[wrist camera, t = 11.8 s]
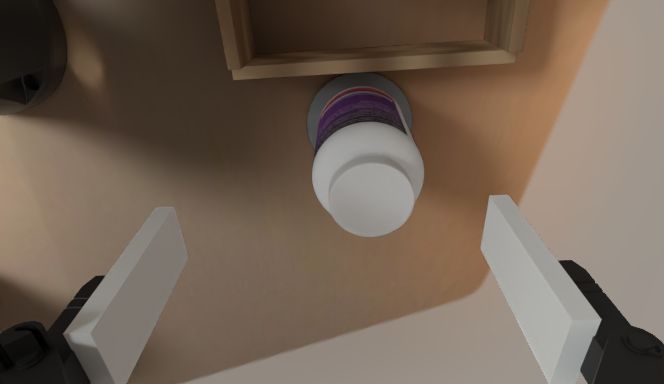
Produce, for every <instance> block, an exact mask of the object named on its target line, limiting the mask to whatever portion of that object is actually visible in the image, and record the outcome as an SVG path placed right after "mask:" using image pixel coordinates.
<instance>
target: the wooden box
mask: <svg viewBox="0 0 664 384" xmlns="http://www.w3.org/2000/svg"><path fill="white" fill-rule="evenodd" d="M215 4H216V10H217V15H218V20H219V26H220V31H221V36H222V42H223V47H224V52H225V58H226V63H227V69H228V70H232V75H233V80H243V79H260V78H276V77H293V76H309V75H325V74H342V73H358V72H375V71H391V70H407V69H424V68H440V67H457V66H473V65H489V64H506V63H515V61H516V55H517V52H522V51H523V45H524V38H525V32H526V25H527V19H528V13H529V6H530V0H488V6H487V15H486V24H485V33H484V40H476V41H461V42H445V43H430V44H414V45H399V46H383V47H367V48H352V49H336V50H321V51H305V52H290V53H274V54H259V55H256V52H255V46H254V39H253V33H252V26H251V19H250V13H249V6H248V0H215Z"/></svg>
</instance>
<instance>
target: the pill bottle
mask: <svg viewBox="0 0 664 384" xmlns="http://www.w3.org/2000/svg"><path fill="white" fill-rule="evenodd" d="M312 181H313V187H314V191H315V193H316V196H317V198H318V200H319V201H320V203H321V204H322V206H323V207H324V208H325V209H326V210H327V211H328V212H329V213H330V214H332V216H333V218H334V220H335V221H336V222H337V223H338V224H339V225H340V226H341V227H342V228H343V229H345V230H346V231H348V232H350V233H352V234H355V235H358V236H364V237H377V236H382V235H386V234H389V233H391V232H393V231H395V230H396V229H398V228H399V227H400V226H402V225H403V224H404V223H405V222H406V220H407V219H408V218H409V216H410V215H411V212H412V210H413V207H414V202H415V201H416V199H417V198H418V196H419V194H420V192H421V189H422V185H423V181H424V165H423V160H422V157H421V154H420V152H419V150H418V147H417V145H416V143H415V141H414V139H413V136H412V134H411V132H410V129H409V127H408V125H407V122H406V120H405V118H404V115H403V113H402V111H401V109H400V107H399V105H398V104H397V102H396V101H395V100H394V99H393V98H392V97H391V96H390V95H388V94H387V93H385V92H384V91H382V90H379V89H377V88H373V87H368V86H357V87H352V88H348V89H345V90H343V91H341V92H339V93H338V94H336V95H335V96H334V97H333V98H332V99H331V100H330V101H329V102H328V103H327V104H326V106H325V107H324V109H323V111H322V113H321V115H320V119H319V123H318V130H317V139H316V146H315V154H314V161H313V170H312Z"/></svg>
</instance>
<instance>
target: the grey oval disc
mask: <svg viewBox="0 0 664 384" xmlns="http://www.w3.org/2000/svg"><path fill="white" fill-rule="evenodd" d="M357 86H368V87H373V88H377V89H379V90H382V91H384V92H385V93H387V94H388V95H390V96H391V97H392V98H393V99H394V100H395V101H396V102H397V104H398V105H399V107H400V109H401V111H402V113H403V115H404V118H405V120H406V122H407V125H408V127H409V129H410V132H411V131H412V113H411V109H410V106H409V103H408V101H407V99H406V97H405V95H404V94H403V92H402V91H401V90H400V88H399V87H398V86H397V85H396V84H394V83H393V82H392V81H391V80H389V79H387V78H386V77H384V76H381V75H379V74H376V73H372V72H358V73H345V74H342V75H340V76H337V77H335V78H334V79H332V80H330V81H329V82H328V83H326V84H325V85H324V86H323V87H322V88H321V89H320V90H319V91H318V93H317V94H316V96H315V97H314V99H313V101H312V103H311V106H310V109H309V113H308V118H307V130H308V136H309V139H310V142H311V144H312V146H313V148H314V150H315V146H316V139H317V130H318V123H319V119H320V115H321V113H322V111H323V109H324V107H325V106H326V104H327V103H328V102H329V101H330V100H331V99H332V98H333V97H334V96H335V95H336V94H338V93H339V92H341V91H343V90H345V89H348V88H352V87H357Z"/></svg>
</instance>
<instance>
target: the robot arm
mask: <svg viewBox="0 0 664 384" xmlns="http://www.w3.org/2000/svg"><path fill="white" fill-rule="evenodd" d="M66 59H67V48H66V39H65V34H64V30H63V26H62V23H61V20H60V17H59V15H58V12H57V10H56V8H55V6H54V4H53V2H52V0H0V115H7V114H12V113H16V112H19V111H22V110H25V109H27V108H29V107H31V106H34V105H36V104H38V103H40V102H42V101H44V100H45V99H46V98H48V97H49V96H50V95H51V94H52V93H53V92H54V91H55V90H56V88H57V87H58V85H59V83H60V82H61V79H62V77H63V74H64V71H65V66H66ZM480 249H481V251H482V253H483V255H484V257H485V259H486V261H487V263H488V265H489V267H490V269H491V271H492V273H493V275H494V277H495V279H496V280H497V283H498V284H499V287H500V289H501V290H502V292H503V294H504V296H505V298H506V300H507V302H508V304H509V306H510V308H511V310H512V312H513V314H514V316H515V318H516V320H517V322H518V324H519V326H520V328H521V330H522V332H523V334H524V336H525V338H526V340H527V342H528V344H529V346H530V348H531V350H532V352H533V354H534V356H535V358H536V360H537V362H538V364H539V366H540V367H541V369H542V371H543V373H544V375H545V377H546V379H547V381H548V383H549V384H576V382H577V379H578V377H579V374H580V372H581V373H582V374H583V376H584V378H585V380H586V381H587V383H588V384H664V344H663V343H662V342H661V341H660V340H659V339H658V338H656V337H655V336H654V335H653V334H651V333H649V332H647V331H645V330H643V329H640V328H637V327H634V326H631V325H630V324H629V322H628V321H627V320H626V319H625V317H624V316H623V315H622V314H621V313H620V311H619V310H618V309H617V308H616V306H615V305H614V304H613V303H612V301H611V300H610V299H609V298H608V297H607V296H606V294H605V293H603V292H602V289H601V288H600V287H599V286H598V284H596V283H595V281H594V279H593V278H592V277H591V276H590V274H589V273H588V272H587V271H586V270H585V269H584V268H582V267H581V266H579V265H578V264H576V263H575V262H573V261H572V260H563V261H558V260H557V259H556V258H555V256H554V255H553V254H552V252H551V251H550V250H549V248H548V247H547V246H546V244H545V243H544V242H543V240H542V239H541V238H540V236H539V235H538V234H537V232H536V231H535V230H534V228H533V227H532V225H531V224H530V223H529V221H528V220H527V219H526V217H525V216H524V215H523V214H522V212H521V211H520V209H519V208H518V207H517V205H516V204H515V203H514V201H513V200H512V199H511V197H510V196H509V195H490V196H489V202H488V207H487V213H486V219H485V225H484V231H483V236H482V242H481V248H480ZM187 260H188V255H187V251H186V247H185V244H184V240H183V237H182V233H181V230H180V226H179V223H178V219H177V216H176V212H175V209H174V207H156V208H155V209H154V211H153V212H152V213H151V215H150V216H149V217H148V219H147V220H146V221H145V223H144V224H143V226H142V227H141V228H140V230H139V231H138V232H137V234H136V235H135V236H134V238H133V239H132V241H131V242H130V243H129V245H128V246H127V247H126V249H125V250H124V251H123V253H122V254H121V256H120V257H119V258H118V260H117V261H116V262H115V264H114V265H113V267H112V268H111V269H110V271H109V272H108V273H107V275H106V276H95V277H94V278H93V279H91V280H90V281H89V282H88V283H86V284H85V285H84V286H82V288H81V289H80V290H79V292H78V293H77V294H76V295H75V297H74V300H72V301H71V302H70V303H69V304H68V306H67V309H65V310H64V311H63V312H62V313H61V315H60V316H59V317H58V319H57V320H56V321H55V322H54V324H53V325H52V326H51V328H50V329H49V330H48V331H46V330H45V328H44V326H43V325H42V324H41V323H39V322H35V321H31V322H24V323H21V324H18V325H15V326H13V327H11V328H9V329H7V330H5V331H4V332H2V333H1V334H0V384H126V383H127V381H128V379H129V377H130V375H131V373H132V371H133V369H134V367H135V365H136V363H137V361H138V359H139V357H140V355H141V353H142V351H143V349H144V347H145V345H146V343H147V341H148V339H149V337H150V335H151V333H152V331H153V329H154V327H155V325H156V323H157V321H158V319H159V317H160V315H161V313H162V311H163V309H164V307H165V305H166V303H167V301H168V299H169V297H170V295H171V293H172V290H173V288H174V286H175V284H176V282H177V280H178V278H179V276H180V274H181V272H182V270H183V268H184V266H185V264H186V262H187Z"/></svg>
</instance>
